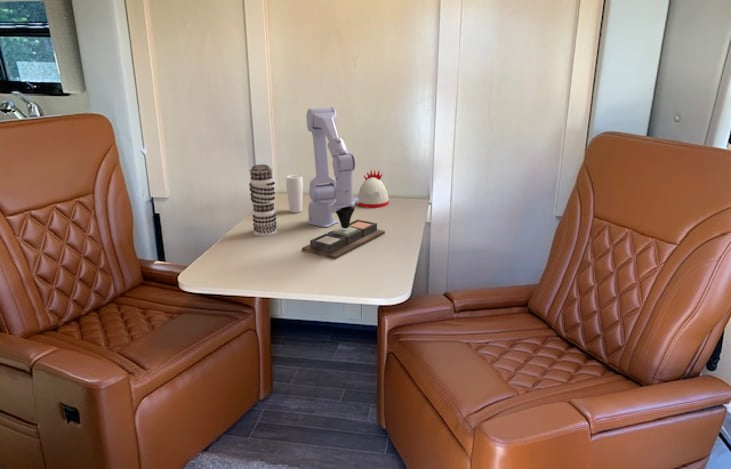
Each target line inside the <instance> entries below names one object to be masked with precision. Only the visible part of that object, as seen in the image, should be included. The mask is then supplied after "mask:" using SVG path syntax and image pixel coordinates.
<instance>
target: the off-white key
mask: <svg viewBox="0 0 731 469" xmlns="http://www.w3.org/2000/svg"><path fill="white" fill-rule="evenodd" d="M338 240H340V239H338V238H334V237H330V236H325V237H323V238H321V239H318V240H316V241H318V242H322V243H326V244H332V243H334V242H336V241H338Z"/></svg>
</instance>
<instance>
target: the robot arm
mask: <svg viewBox="0 0 731 469" xmlns="http://www.w3.org/2000/svg"><path fill="white" fill-rule="evenodd" d="M337 117H338V116H337V111H336V109H335V108H334V107H321V108H320V107H319V108H318V107H317V108H310V107H309V108H308V109H307V112H306V117H305V119H306V126H307V131H308V132H310V133H311V136H312V141H313V143H312V144H313V154H314V155H313V156H314V166H315V175H316V176H315V177H313V179H311V180H310V182H309V189H308V190H309V191H308V192H309V194H308V195H309V198H310V202H308V207H307V210H308V212H307V213H308V221H307V224H309V225H314V226H319V227H322V228H328V227H331V226H333V225H335V224H337V223H339V222H340V227H342V228H348V227H349V223H351V218H352V215H353V213H354V212H355V210H356V209H355V205H358V203H359V198H358V197H356V196H355V197H354V195H353V193H354V192H353V191H354V190H353V189H354V188H353V171H355V169H356V160H355V157H354V155H353V153H351V151H348V149H347V146H346V143H345V142H344V141H345V140H344V139H343V138H342V137H339V135H338V134H339V133H338V131H337V128H336V123H337V119H338V118H337ZM327 140H328V142H327ZM327 149H328V150H329V153H330V155H331V156H330V157H331V158H332V164H331V165H332V169H333V175H334V176H333V177H335V179H334V178H333V177H331V176H330V172H329V163H328V162H329V160H328V150H327ZM334 214H336V215H337V218H338V220H336V219H334V218H335V216H334Z"/></svg>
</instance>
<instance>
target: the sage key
mask: <svg viewBox="0 0 731 469" xmlns="http://www.w3.org/2000/svg"><path fill="white" fill-rule="evenodd" d="M331 231H332V233H335V234H340V235H344V236H349V235H351V234H353V233H355V232H357V231H358V229H356V228H352V227H348V228H342V227H341V226H339V227H337V228H335V229H332V230H331Z"/></svg>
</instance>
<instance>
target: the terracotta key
mask: <svg viewBox="0 0 731 469" xmlns="http://www.w3.org/2000/svg"><path fill="white" fill-rule="evenodd" d="M370 225H372V224H368V223H363V222H356V223H354V224H352V225H350V226H353V227H358V228H362V229H363V228H366V227H368V226H370Z"/></svg>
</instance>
